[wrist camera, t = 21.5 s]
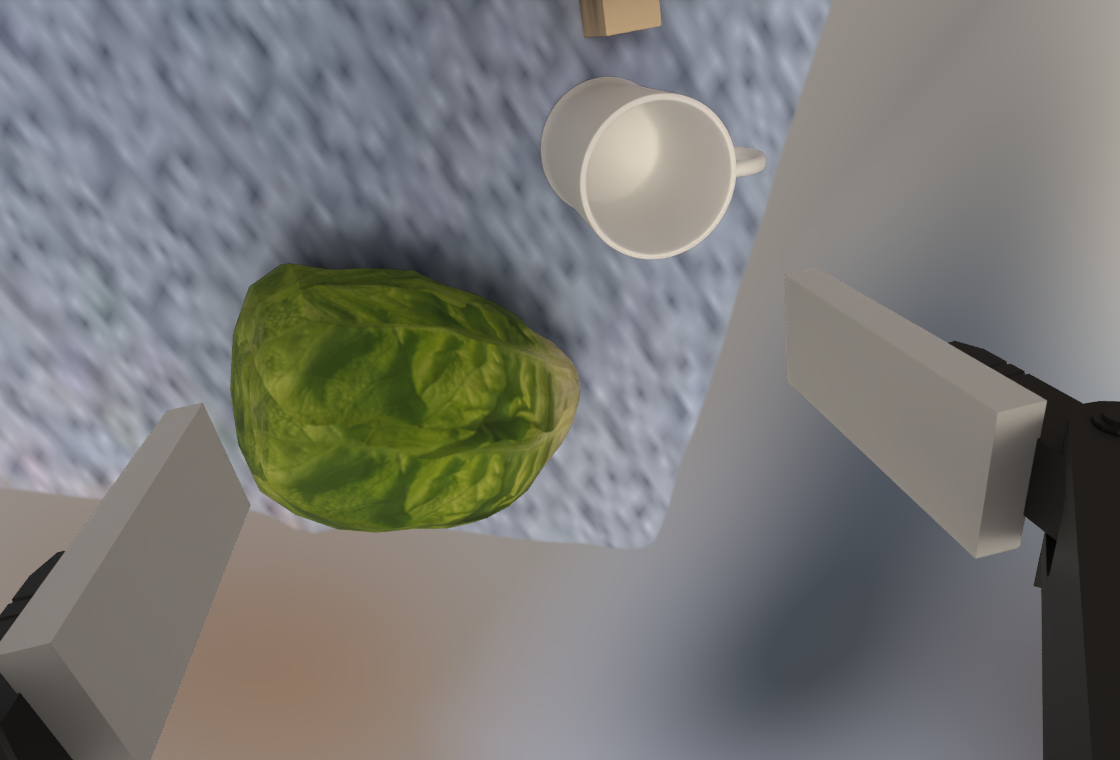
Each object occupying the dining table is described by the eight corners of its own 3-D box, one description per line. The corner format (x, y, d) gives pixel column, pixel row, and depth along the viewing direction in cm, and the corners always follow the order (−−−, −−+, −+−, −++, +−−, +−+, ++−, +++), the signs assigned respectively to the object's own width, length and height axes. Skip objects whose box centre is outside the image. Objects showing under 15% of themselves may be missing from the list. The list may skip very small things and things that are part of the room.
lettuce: (503, 454, 57) (603, 546, 44) (221, 483, 46) (248, 615, 34) (523, 258, 52) (641, 299, 40) (216, 241, 42) (245, 290, 29)
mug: (725, 84, 44) (818, 96, 34) (704, 217, 48) (783, 266, 37) (543, 72, 42) (582, 81, 31) (537, 212, 46) (569, 263, 35)
